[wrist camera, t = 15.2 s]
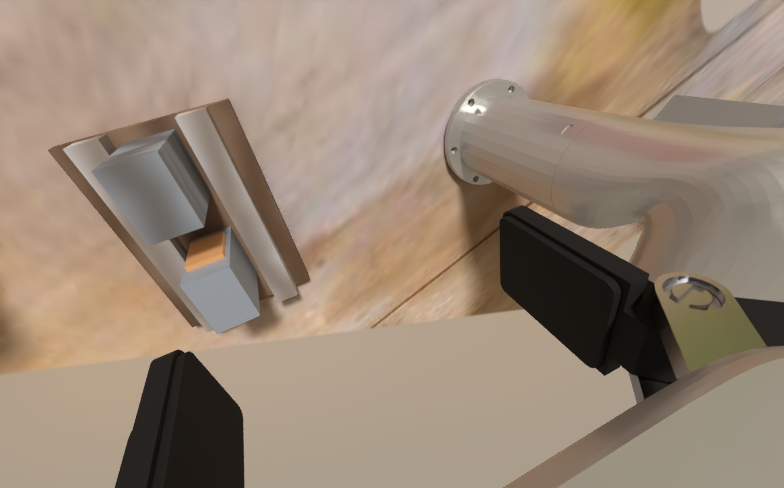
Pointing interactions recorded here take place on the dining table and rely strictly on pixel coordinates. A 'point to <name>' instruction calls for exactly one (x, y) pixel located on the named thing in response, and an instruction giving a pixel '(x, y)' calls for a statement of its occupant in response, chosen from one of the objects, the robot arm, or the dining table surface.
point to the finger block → (221, 280)
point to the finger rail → (214, 201)
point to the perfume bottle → (721, 113)
